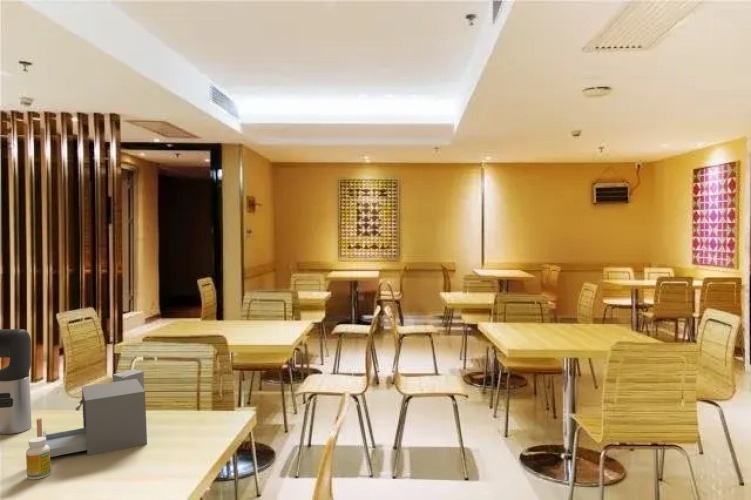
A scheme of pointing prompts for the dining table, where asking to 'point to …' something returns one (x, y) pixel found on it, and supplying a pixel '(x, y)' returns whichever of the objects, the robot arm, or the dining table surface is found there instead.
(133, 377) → the skincare box
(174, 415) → the dining table surface
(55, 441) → the drawer
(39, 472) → the supplement bottle
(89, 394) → the cabinet
